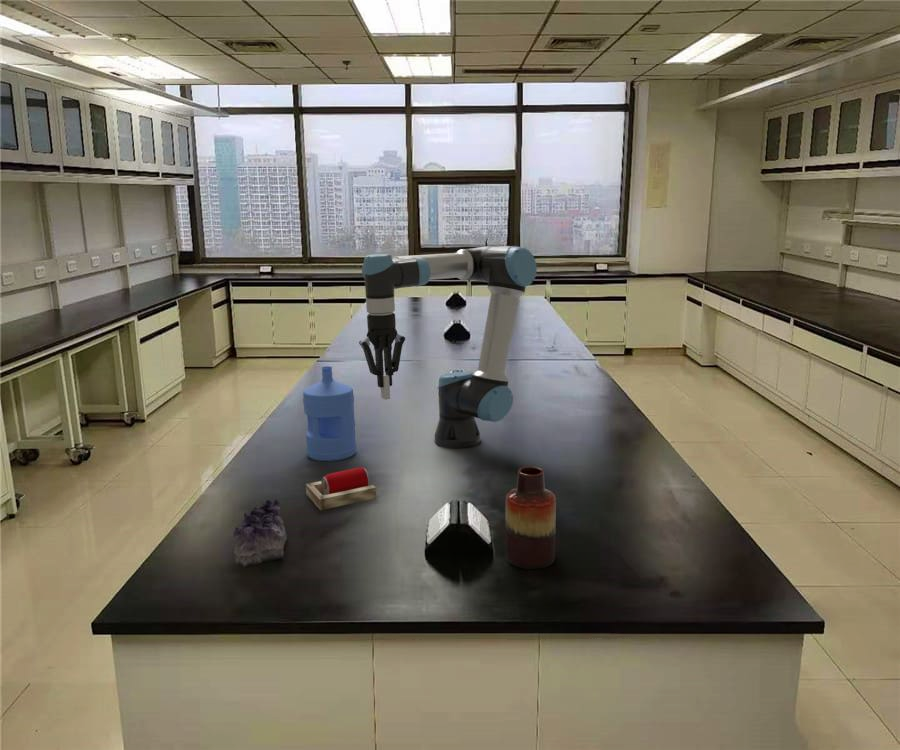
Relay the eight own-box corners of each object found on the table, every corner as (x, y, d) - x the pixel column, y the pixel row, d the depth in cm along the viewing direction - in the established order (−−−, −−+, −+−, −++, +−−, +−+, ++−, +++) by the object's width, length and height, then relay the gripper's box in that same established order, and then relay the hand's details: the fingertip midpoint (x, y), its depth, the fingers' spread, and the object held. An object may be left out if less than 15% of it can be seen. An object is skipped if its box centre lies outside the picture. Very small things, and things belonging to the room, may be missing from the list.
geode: (241, 531, 171) (243, 491, 170) (290, 533, 173) (293, 494, 171) (226, 569, 152) (229, 525, 150) (281, 571, 153) (285, 528, 152)
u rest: (359, 483, 199) (359, 473, 199) (376, 497, 189) (375, 487, 188) (306, 494, 192) (305, 484, 191) (320, 510, 182) (319, 499, 181)
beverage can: (360, 475, 198) (319, 483, 192) (364, 462, 194) (322, 470, 188) (367, 493, 194) (326, 502, 189) (372, 480, 190) (330, 489, 184)
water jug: (328, 442, 234) (323, 360, 228) (366, 450, 226) (362, 365, 220) (296, 457, 221) (290, 370, 215) (335, 465, 213) (329, 375, 207)
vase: (564, 556, 156) (566, 469, 151) (536, 575, 148) (537, 484, 143) (524, 541, 163) (525, 458, 158) (495, 559, 155) (495, 472, 150)
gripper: (396, 308, 195) (401, 391, 200) (352, 313, 188) (358, 398, 194) (409, 312, 188) (413, 397, 194) (363, 317, 182) (369, 405, 188)
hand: (385, 397), depth 194 cm, fingers closed
